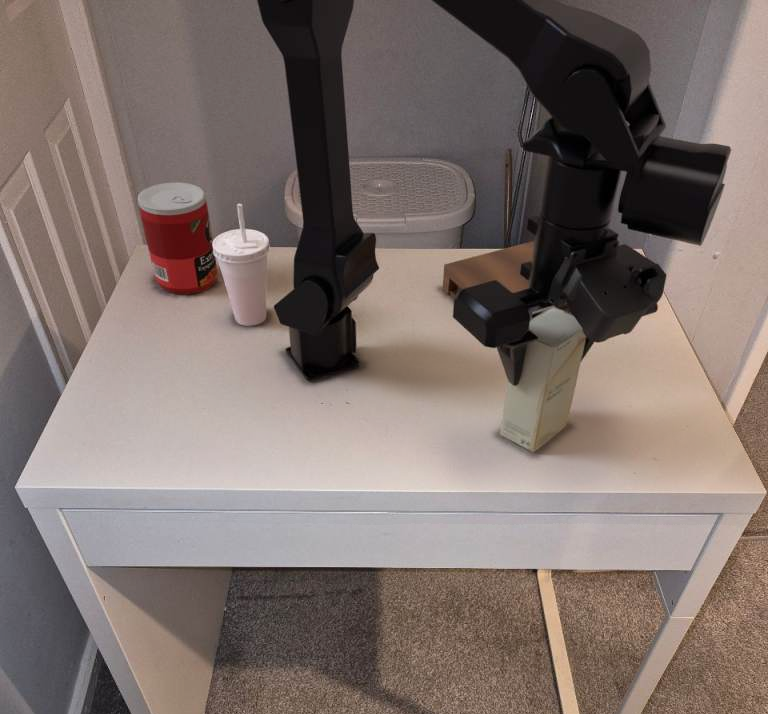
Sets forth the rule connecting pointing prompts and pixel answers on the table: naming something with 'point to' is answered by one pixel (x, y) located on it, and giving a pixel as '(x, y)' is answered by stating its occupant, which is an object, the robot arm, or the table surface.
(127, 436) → the table surface
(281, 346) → the table surface
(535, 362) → the cosmetic box
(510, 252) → the shelf
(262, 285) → the smoothie
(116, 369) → the table surface
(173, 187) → the canned food
